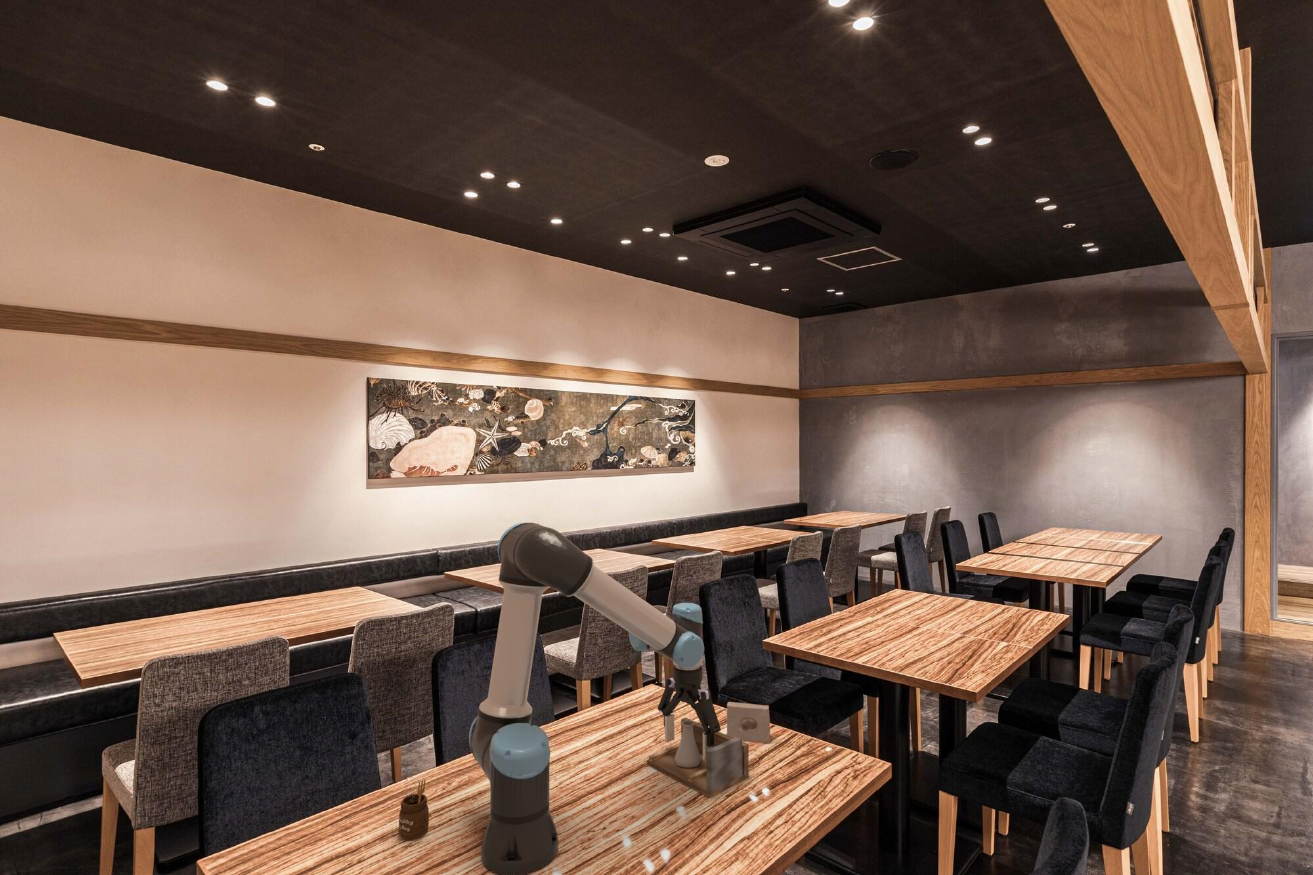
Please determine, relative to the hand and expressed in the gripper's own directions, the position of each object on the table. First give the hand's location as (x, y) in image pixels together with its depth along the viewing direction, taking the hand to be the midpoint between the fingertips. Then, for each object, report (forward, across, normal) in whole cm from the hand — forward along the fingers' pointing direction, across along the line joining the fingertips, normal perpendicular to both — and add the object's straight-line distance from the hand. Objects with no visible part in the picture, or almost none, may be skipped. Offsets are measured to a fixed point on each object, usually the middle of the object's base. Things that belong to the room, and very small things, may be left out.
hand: (688, 749), depth 167 cm
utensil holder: (+5, +19, +63) cm, 66 cm away
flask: (+3, 0, 0) cm, 3 cm away
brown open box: (+4, -3, 0) cm, 5 cm away
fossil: (+5, 0, -24) cm, 24 cm away
